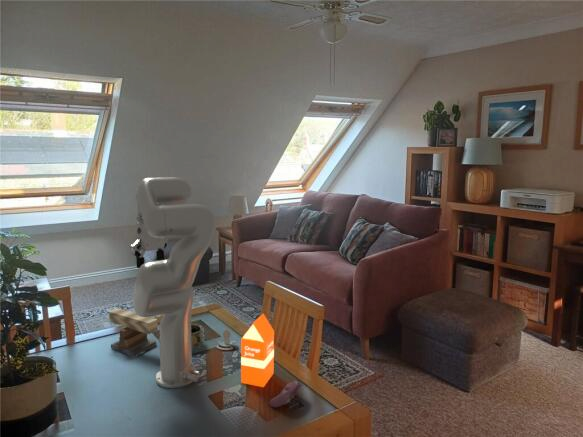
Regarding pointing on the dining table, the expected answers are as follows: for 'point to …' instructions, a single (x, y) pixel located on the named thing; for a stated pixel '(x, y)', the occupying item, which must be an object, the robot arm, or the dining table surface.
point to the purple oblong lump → (286, 394)
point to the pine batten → (133, 321)
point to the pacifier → (225, 341)
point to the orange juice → (257, 353)
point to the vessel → (196, 336)
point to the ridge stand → (132, 342)
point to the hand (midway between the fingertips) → (150, 264)
